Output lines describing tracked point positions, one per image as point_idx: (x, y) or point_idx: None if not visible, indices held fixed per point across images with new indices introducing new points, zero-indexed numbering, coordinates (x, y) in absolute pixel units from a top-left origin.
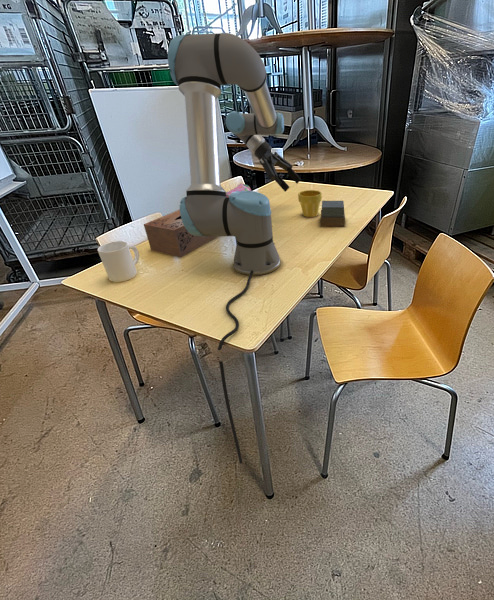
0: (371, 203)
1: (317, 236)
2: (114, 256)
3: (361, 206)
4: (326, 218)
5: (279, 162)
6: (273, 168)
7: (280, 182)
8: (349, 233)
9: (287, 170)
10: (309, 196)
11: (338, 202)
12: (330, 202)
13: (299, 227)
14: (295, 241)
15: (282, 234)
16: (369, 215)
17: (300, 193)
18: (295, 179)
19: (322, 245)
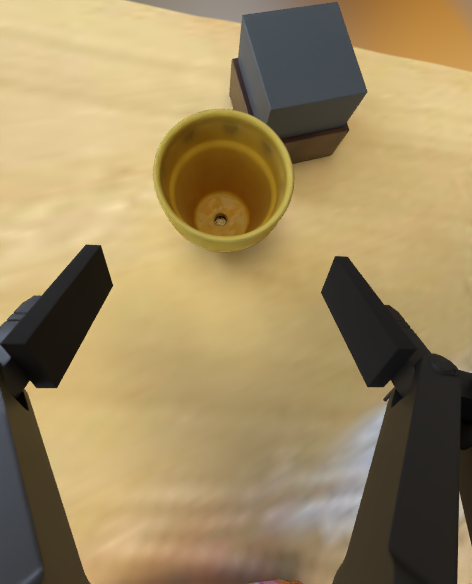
0: (12, 12)
1: (409, 145)
2: None
3: (65, 47)
4: None
5: (54, 572)
6: (456, 466)
7: (396, 314)
8: None
9: (21, 397)
10: (290, 158)
11: (277, 32)
12: (287, 67)
13: (358, 222)
14: (464, 198)
15: (431, 256)
16: (171, 12)
17: (218, 236)
18: (97, 292)
19: (462, 117)
